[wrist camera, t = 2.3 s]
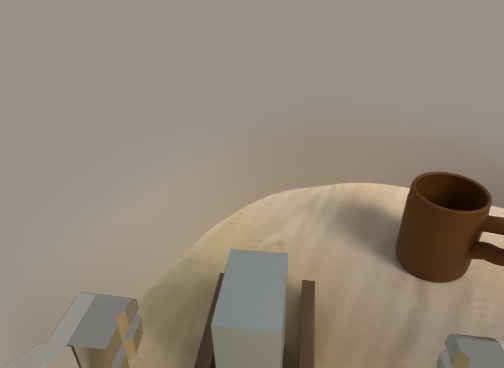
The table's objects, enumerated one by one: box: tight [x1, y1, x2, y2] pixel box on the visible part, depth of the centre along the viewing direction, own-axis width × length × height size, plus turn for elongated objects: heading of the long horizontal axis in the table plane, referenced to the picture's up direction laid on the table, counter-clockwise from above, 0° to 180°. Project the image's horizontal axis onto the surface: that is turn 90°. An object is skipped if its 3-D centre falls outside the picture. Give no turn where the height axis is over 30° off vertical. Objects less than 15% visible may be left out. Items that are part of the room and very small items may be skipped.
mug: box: [396, 172, 504, 282], centre depth 41 cm, size 12×8×9 cm, turn 36°
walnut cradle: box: [194, 273, 315, 368], centre depth 34 cm, size 9×15×2 cm, turn 172°
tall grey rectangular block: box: [211, 249, 288, 368], centre depth 30 cm, size 4×7×11 cm, turn 172°
